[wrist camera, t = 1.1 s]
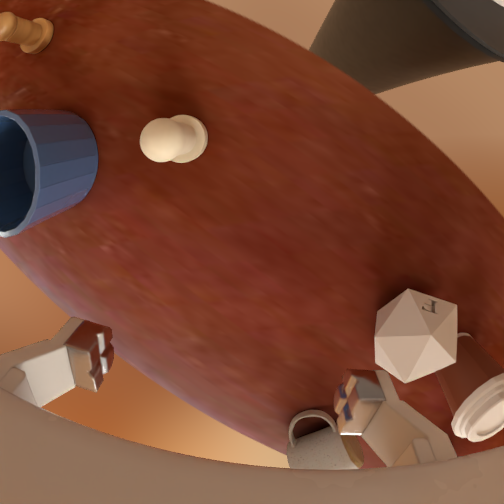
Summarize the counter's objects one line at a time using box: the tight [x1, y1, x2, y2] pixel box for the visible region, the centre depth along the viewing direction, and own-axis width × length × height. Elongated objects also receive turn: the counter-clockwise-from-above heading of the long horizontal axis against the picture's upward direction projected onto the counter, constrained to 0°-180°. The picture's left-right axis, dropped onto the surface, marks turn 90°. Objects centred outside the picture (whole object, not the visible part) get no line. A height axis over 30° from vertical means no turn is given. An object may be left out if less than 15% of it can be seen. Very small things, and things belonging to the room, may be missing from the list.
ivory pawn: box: [140, 115, 208, 163], centre depth 22 cm, size 4×4×8 cm
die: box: [374, 289, 457, 383], centre depth 27 cm, size 8×9×10 cm
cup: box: [0, 109, 98, 238], centre depth 22 cm, size 10×10×9 cm
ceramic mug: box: [287, 410, 364, 470], centre depth 34 cm, size 11×8×8 cm
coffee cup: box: [435, 333, 504, 442], centre depth 27 cm, size 9×9×12 cm
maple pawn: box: [0, 12, 54, 54], centre depth 18 cm, size 4×4×8 cm
